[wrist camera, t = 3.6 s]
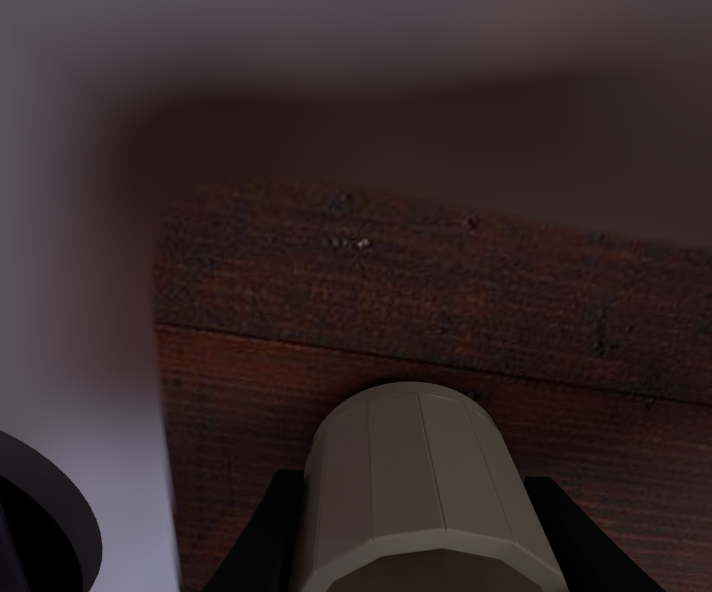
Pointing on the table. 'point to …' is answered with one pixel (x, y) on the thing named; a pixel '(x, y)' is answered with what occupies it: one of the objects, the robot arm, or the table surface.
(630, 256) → the table surface
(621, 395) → the table surface
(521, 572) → the ramekin
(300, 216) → the table surface
